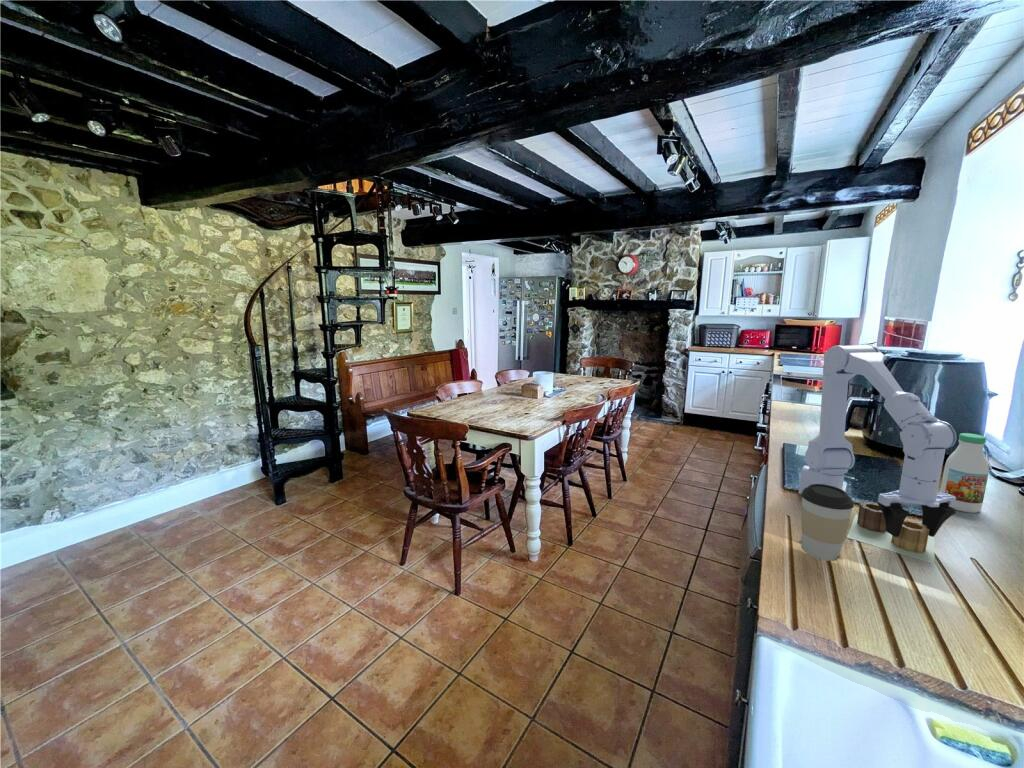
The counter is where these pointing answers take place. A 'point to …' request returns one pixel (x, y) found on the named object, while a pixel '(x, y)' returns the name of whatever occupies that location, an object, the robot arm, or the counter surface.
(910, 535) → the oak cog
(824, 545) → the coffee cup
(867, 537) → the board
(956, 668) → the counter surface
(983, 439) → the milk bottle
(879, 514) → the walnut cog
